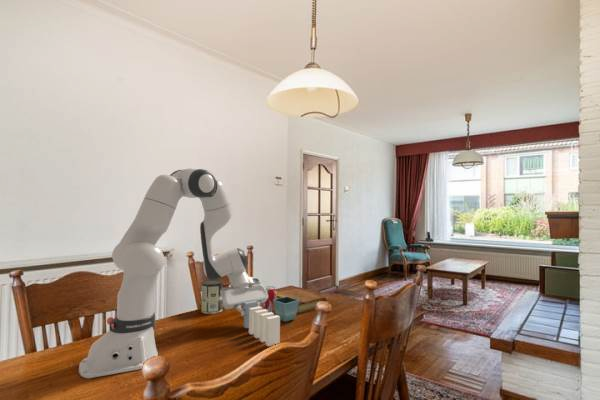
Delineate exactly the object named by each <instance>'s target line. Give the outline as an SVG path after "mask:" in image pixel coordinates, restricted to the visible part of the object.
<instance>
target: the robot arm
mask: <svg viewBox="0 0 600 400" xmlns="http://www.w3.org/2000/svg"><path fill="white" fill-rule="evenodd" d="M183 197H185V198H189V199H191V198H192V199H196V198H197V199H199V200H200V202H201V205H202V206H201V207H202V208H203V212H204V216H203V217H204V218H203V221H201V222H200V225H199V227H200V228H199V232H200V242H201V250H202V256H203V267H202V268H203V273H204V275H205V276H206V279H209V280H220V279H221V278H223V277H224V276H227V278H228V280H229V282H228V283H229V285H230V286H228V287H223V288H222V289H221V290H220V294H221V297H222V301H223V308H224V309H225V310H231V309H236V310H237V312H239V313H240V314H241V317H244V316H245V315H246V311H245V310H244V308H242V307H244V303H245V302H250V301H257V307H259V306H260V305H261V304H262V303H263V302H266V301H267V299H268V293H267V291H266V289H265V287H266V286H264V284H262V280H261V278H256V277H252V276H249V275H248V273H247V268H248V266H249V262H248V259H247V257H246V254H245V251H244V250H243V249H241V248H239V247H237V248H236V247H235V248H233V249H230V250H227V251H225V252H222V253H219V254H215V255H214V253H213V246H212V238H213V237H214V236H215V235H216V233H217V232H218V231H220V230H221V229H222V228H224V227H225V226H226V225H228V223H229V222H230V220H231V219H232V216H233V209H232V205H231V202H230V197H229V195H228V193H227V190H226V187H225V186H224V184H223V182H222V181H220V180H219V179H216V178H215V175H213V173H211V171H209V170H206V169H204V168H203V169H202V168H199V169H195V168H186V169H178V170H175V171H172V173H170V174H160V175H158V176H157V177H156V178H155V179H154V180H153V181H152V183H151V185H150V186H149V188H148V189H147V191H146V193H145V195H144V197H143V200H142V202H141V204H140V206H139V208H138V211H137V213H136V216H135V218H134V219H133V221H132V222H131V224H130V226H128V227H129V228H128V229H127V230H126V232H125V234H124V235H123V237H122V238H121V240H120V241H119V243H118V244H117V245H116V246H115V247H114V248H113V250H112V254H111V257H112V258H111V259H112V261H113V263H114V265H115V266H116V268H118V269H119V270H120V271H122V272H123V277H122V280H121V286H120V288H119V291H118V292H117V299H116V303H117V304H116V306H117V307H116V316H115V317H114V318H113V317H112V316H109V317H108V318H107V319H106V323H107V325H108V326H109V327H108V329H109V330H108V331H106V332H105V333H104V334H103V335H102V336H100V337H99V338H97V340H95V341H94V342H93V343H92V344H91V346H90V347H89V351H88V354H87V357H85V358H84V359H82V360H81V361H80V362H79V365H78V374H79V375H80V376H81V377H82V378H85V379H93V378H99V377H103V376H109V375H116V374H119V373H120V374H121V373H126V372H132V371H137V370H141V369H143V368H142V366H143V363H144V362H145V361H146V360H147V359H149V358H151V357H153V356H157V357H158V355H159V352H158V348H157V345H156V340H155V329H156V328H155V327H156V313H155V312H154V311H155V310H154V309H155V292H156V291H155V290H156V289H155V288H156V286H157V281H158V277H159V274H160V271H161V270H162V269H163V267H164V265H165V256H164V253H163V251H162V250H161V249H160V248H159V247H158V246H157V243H158V241H159V240H160V239H161V237H162V236H163V235H164V234H165V233H166V232H167V231H168V229H169V226H170V224H171V223H172V222H171V221H172V218H173V216H174V214H175V211H176V210H177V207H178V203H179V201H180V199H182V198H183Z"/></svg>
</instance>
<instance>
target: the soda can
mask: <svg viewBox="0 0 600 400" xmlns="http://www.w3.org/2000/svg"><path fill="white" fill-rule="evenodd" d="M264 287H265V289H266V291H267V293H268V299H267V301H266V302H263V303H261V307H262V310H263V309H266V310H268V313H269V312H272V313H275V310H274V303H273V300H274V299H277V292H278V291H277V289H276V287H275V286H274V285H273V286H269V285H268V286H267V285H266V286H264Z"/></svg>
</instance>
